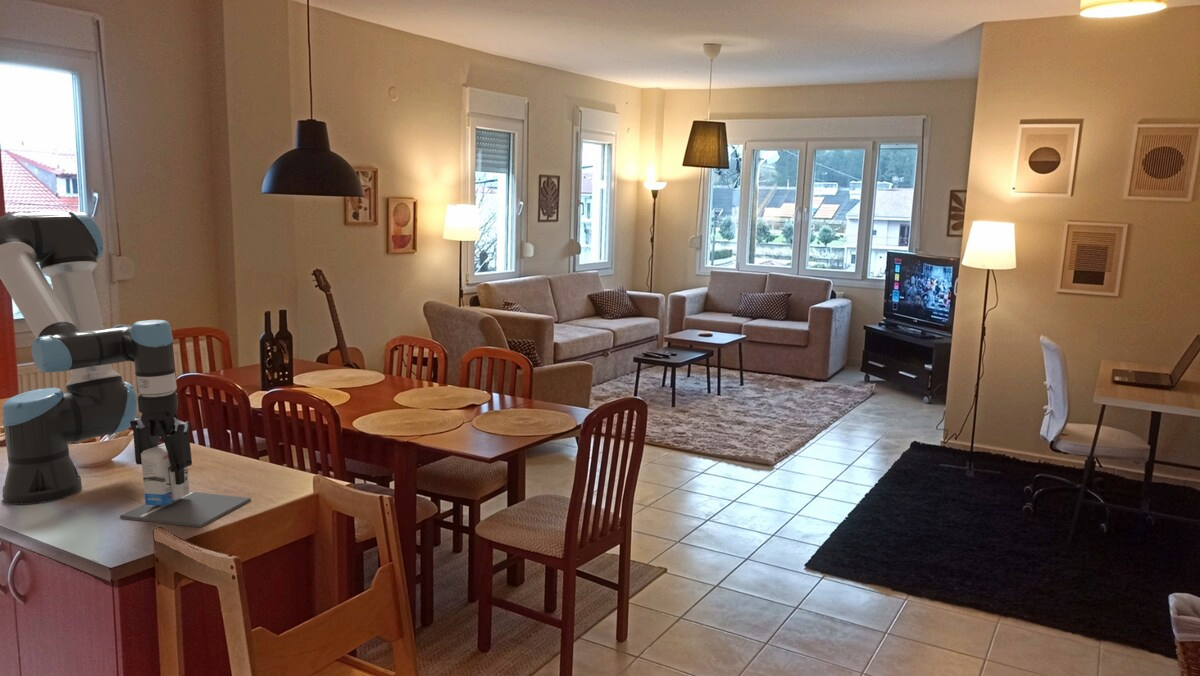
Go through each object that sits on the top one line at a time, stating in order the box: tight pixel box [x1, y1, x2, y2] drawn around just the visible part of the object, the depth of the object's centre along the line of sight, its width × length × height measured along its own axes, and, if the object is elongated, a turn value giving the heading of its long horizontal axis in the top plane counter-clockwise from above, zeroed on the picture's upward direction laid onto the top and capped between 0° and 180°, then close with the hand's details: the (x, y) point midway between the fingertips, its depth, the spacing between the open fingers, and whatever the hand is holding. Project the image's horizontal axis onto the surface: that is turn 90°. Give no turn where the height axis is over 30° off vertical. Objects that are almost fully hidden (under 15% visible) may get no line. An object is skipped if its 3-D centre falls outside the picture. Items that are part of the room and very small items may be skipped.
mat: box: [119, 491, 252, 528], centre depth 186 cm, size 20×16×1 cm
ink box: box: [141, 443, 190, 506], centre depth 186 cm, size 9×5×12 cm, turn 168°
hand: (166, 496), depth 187 cm, fingers closed on ink box, 5 cm apart
